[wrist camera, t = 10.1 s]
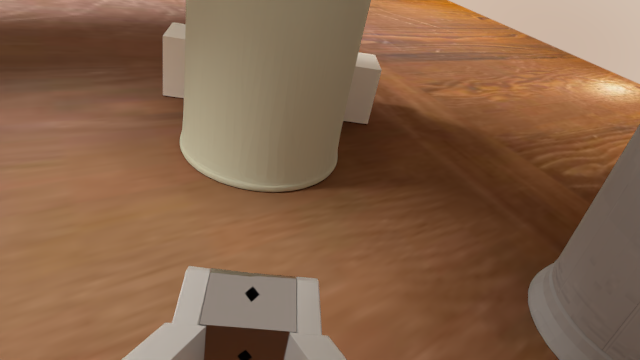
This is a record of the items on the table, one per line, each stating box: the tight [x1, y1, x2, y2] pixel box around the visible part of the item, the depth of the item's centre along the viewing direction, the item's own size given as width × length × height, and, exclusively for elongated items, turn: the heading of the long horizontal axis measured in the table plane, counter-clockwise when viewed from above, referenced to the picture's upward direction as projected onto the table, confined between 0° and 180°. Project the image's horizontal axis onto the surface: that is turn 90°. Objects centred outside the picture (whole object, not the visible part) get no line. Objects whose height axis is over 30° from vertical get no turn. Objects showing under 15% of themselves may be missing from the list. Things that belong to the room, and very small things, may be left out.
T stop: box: [163, 22, 381, 124], centre depth 35 cm, size 8×14×4 cm, turn 92°
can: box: [180, 0, 371, 192], centre depth 25 cm, size 9×9×12 cm
